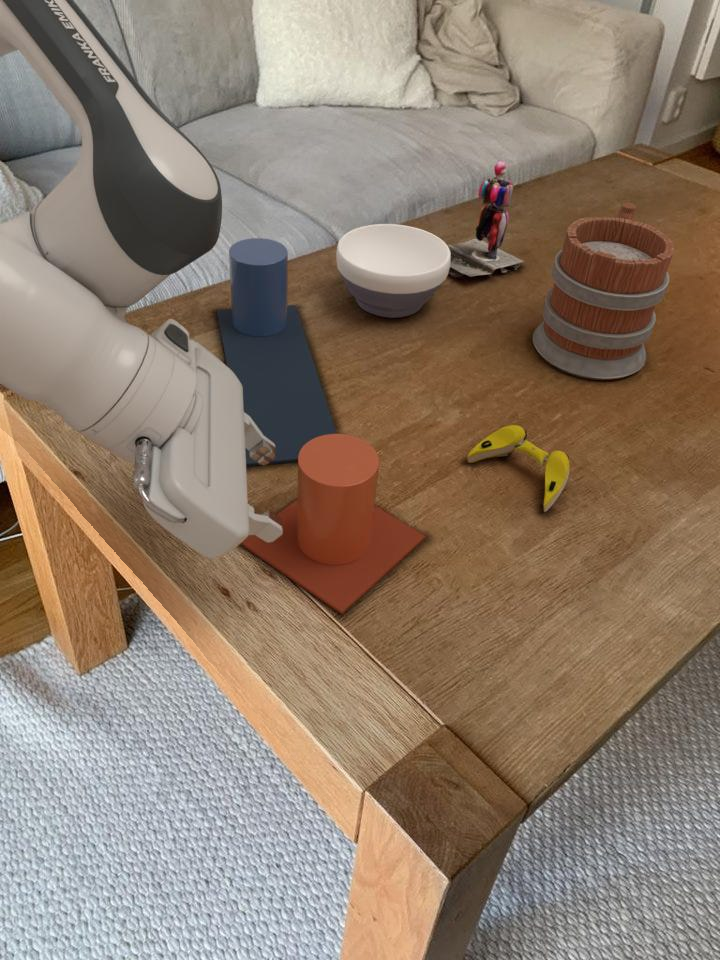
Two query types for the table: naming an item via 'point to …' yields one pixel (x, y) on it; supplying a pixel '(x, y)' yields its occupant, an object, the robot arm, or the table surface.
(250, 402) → the slate mat
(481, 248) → the statue
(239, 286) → the blue cylinder block
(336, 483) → the orange cylinder block
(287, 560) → the terracotta mat
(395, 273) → the bowl
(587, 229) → the mug
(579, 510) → the table surface
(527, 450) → the game controller
